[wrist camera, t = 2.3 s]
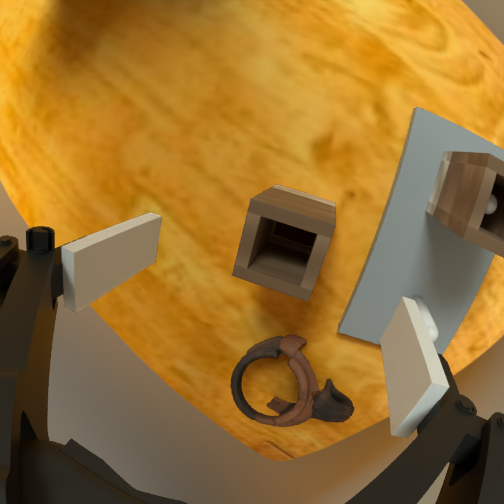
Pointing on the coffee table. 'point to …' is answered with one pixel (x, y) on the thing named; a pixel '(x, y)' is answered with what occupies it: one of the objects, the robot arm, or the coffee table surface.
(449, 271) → the pin board
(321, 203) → the sleeve loose
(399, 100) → the coffee table surface
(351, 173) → the coffee table surface
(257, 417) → the pottery mug
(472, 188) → the sleeve seated
